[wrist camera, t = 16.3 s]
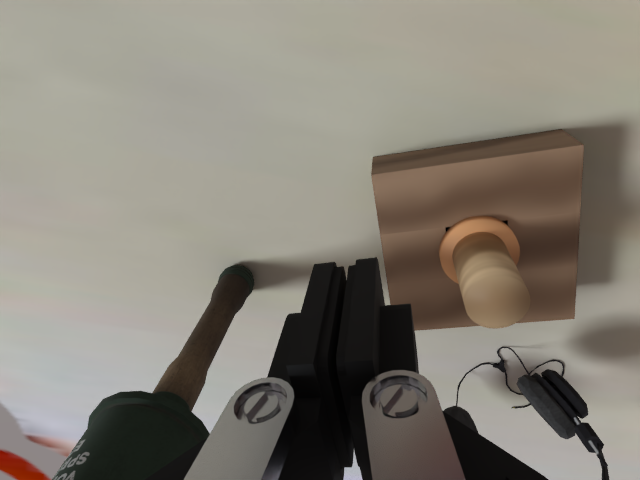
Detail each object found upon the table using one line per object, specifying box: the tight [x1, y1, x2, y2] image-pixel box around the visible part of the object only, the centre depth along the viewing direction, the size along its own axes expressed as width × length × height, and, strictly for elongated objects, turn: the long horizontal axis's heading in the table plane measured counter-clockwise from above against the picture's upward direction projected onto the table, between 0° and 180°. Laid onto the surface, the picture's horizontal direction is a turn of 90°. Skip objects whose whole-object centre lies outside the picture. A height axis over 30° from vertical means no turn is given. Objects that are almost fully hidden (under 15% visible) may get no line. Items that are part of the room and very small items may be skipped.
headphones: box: [444, 347, 609, 480], centre depth 43 cm, size 15×11×20 cm
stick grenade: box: [52, 265, 254, 480], centre depth 37 cm, size 8×9×30 cm
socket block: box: [371, 129, 584, 331], centre depth 42 cm, size 16×16×5 cm
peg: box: [439, 216, 531, 328], centre depth 38 cm, size 6×6×13 cm
